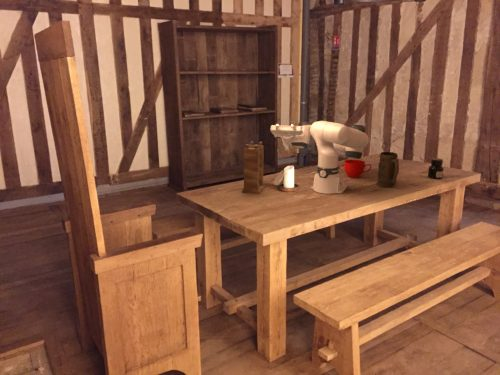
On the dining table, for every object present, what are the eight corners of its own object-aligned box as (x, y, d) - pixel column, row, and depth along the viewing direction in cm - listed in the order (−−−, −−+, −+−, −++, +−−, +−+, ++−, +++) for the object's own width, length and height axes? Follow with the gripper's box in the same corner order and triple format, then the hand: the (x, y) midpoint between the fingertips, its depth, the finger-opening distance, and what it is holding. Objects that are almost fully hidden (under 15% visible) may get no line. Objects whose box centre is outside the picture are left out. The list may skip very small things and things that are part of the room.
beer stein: (371, 184, 265) (376, 151, 258) (385, 181, 270) (389, 150, 263) (390, 192, 252) (395, 158, 246) (403, 189, 257) (409, 156, 250)
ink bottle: (440, 180, 275) (442, 161, 272) (425, 178, 280) (427, 159, 277) (444, 177, 283) (446, 158, 279) (430, 175, 288) (432, 157, 284)
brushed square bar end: (281, 174, 287) (281, 170, 287) (286, 175, 287) (286, 170, 286) (274, 185, 263) (274, 180, 262) (279, 185, 262) (279, 180, 262)
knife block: (248, 186, 258) (248, 141, 251) (264, 187, 256) (265, 141, 248) (242, 192, 246) (242, 144, 239) (259, 193, 243) (259, 145, 236)
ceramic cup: (370, 180, 274) (372, 164, 271) (343, 178, 277) (344, 163, 274) (369, 175, 286) (371, 160, 283) (343, 174, 289) (344, 159, 286)
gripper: (303, 138, 285) (300, 130, 272) (272, 137, 290) (268, 129, 277) (304, 129, 286) (301, 120, 273) (273, 128, 292) (269, 119, 279)
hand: (284, 125), depth 275 cm, fingers open, 8 cm apart
